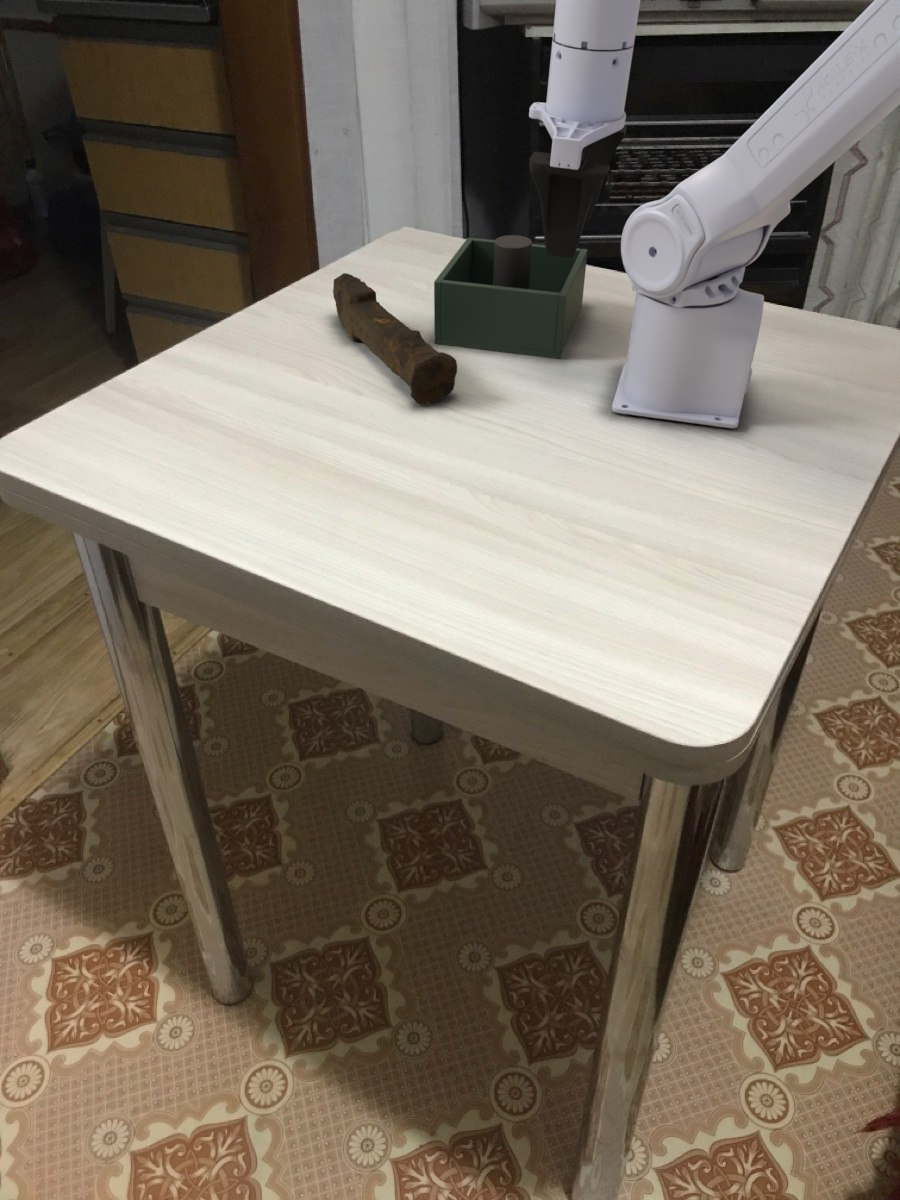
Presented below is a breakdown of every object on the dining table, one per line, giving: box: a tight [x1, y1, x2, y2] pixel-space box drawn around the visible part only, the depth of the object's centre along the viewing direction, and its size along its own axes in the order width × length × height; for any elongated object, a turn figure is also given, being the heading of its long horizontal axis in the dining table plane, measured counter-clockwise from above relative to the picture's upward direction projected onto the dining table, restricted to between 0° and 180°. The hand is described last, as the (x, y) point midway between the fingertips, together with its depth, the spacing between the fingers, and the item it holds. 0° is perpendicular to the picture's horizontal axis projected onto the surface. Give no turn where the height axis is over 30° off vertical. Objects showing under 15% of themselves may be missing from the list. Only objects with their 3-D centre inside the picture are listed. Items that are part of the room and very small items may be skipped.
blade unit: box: [493, 234, 533, 289], centre depth 80 cm, size 7×4×7 cm, turn 74°
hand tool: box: [332, 272, 458, 406], centre depth 76 cm, size 19×4×5 cm, turn 27°
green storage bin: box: [433, 237, 589, 360], centre depth 81 cm, size 11×11×6 cm
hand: (568, 237), depth 73 cm, fingers open, 7 cm apart
